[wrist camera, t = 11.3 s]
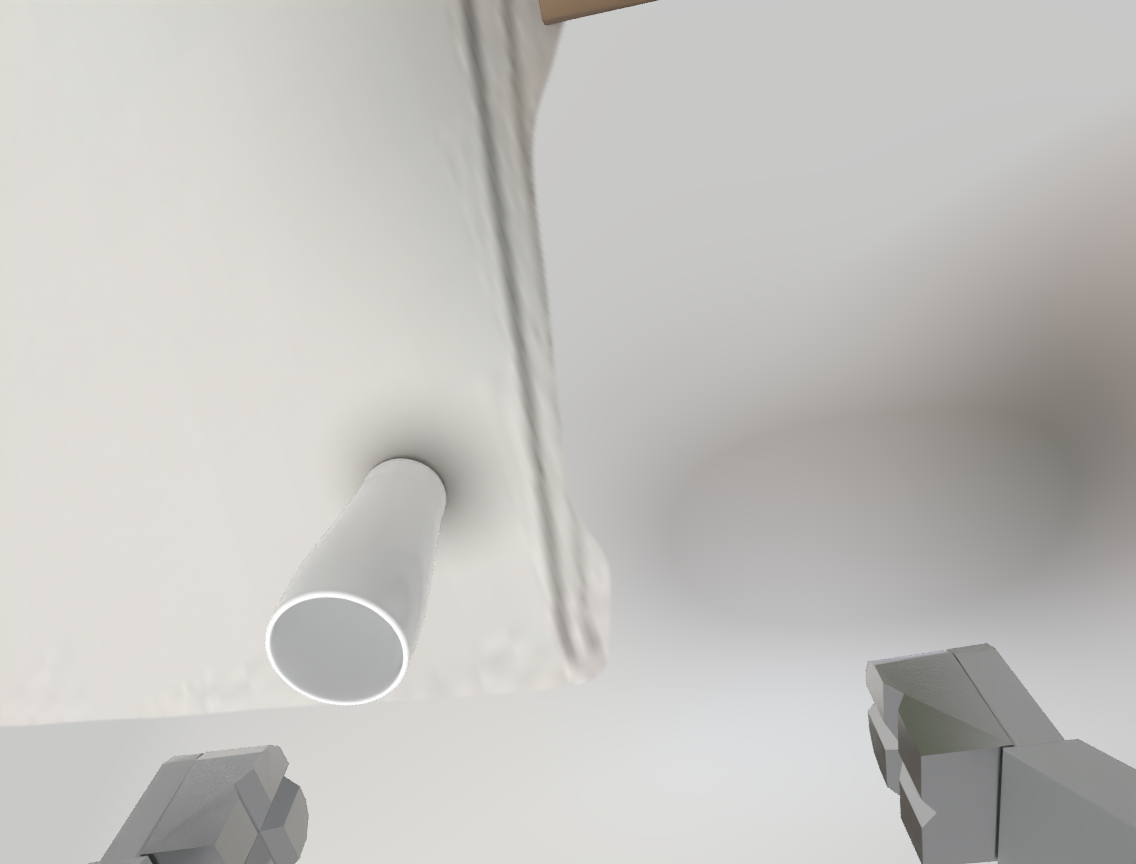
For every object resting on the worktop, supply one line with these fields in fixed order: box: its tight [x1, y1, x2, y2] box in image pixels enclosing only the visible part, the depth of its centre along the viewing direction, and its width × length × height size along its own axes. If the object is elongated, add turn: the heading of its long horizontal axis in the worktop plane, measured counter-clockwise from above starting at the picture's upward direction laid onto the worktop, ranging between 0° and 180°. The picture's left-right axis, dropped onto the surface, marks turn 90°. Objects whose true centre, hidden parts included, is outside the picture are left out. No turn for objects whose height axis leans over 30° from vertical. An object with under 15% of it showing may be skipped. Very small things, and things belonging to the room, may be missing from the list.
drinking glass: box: [265, 458, 446, 705], centre depth 41 cm, size 7×7×15 cm
